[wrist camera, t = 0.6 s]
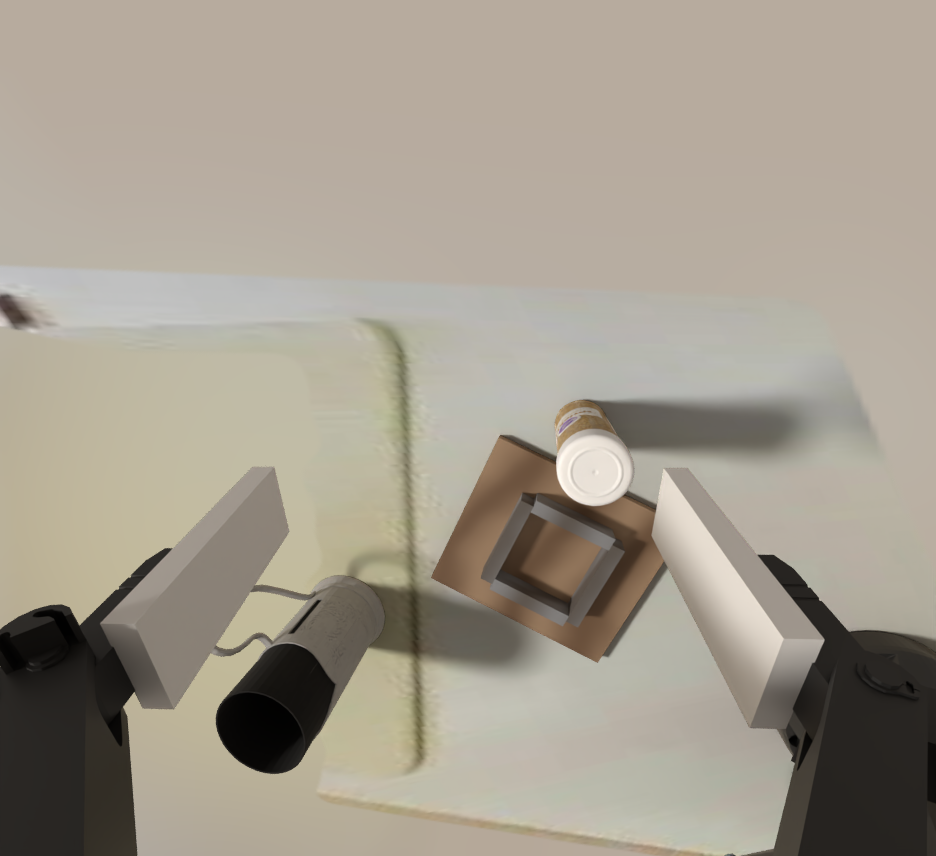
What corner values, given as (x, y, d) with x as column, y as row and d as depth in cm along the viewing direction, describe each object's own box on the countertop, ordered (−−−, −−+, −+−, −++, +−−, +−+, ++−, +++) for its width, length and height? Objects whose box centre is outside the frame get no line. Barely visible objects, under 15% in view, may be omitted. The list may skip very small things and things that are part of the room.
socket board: (682, 522, 40) (693, 538, 37) (596, 655, 44) (599, 678, 41) (500, 434, 41) (496, 443, 38) (433, 572, 45) (425, 589, 42)
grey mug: (343, 660, 50) (259, 796, 35) (261, 562, 49) (141, 660, 34) (401, 624, 47) (336, 754, 33) (316, 520, 46) (211, 607, 32)
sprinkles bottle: (571, 389, 39) (583, 420, 26) (617, 416, 39) (652, 460, 26) (544, 433, 40) (542, 483, 27) (588, 459, 40) (607, 522, 27)
